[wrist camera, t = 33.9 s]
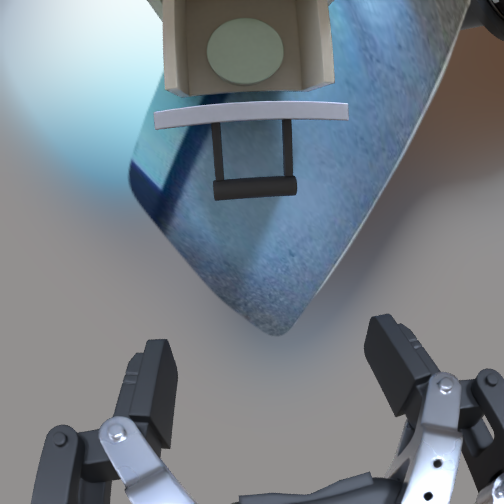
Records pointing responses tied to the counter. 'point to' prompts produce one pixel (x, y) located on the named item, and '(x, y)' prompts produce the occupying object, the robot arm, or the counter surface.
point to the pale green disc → (245, 51)
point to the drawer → (284, 79)
